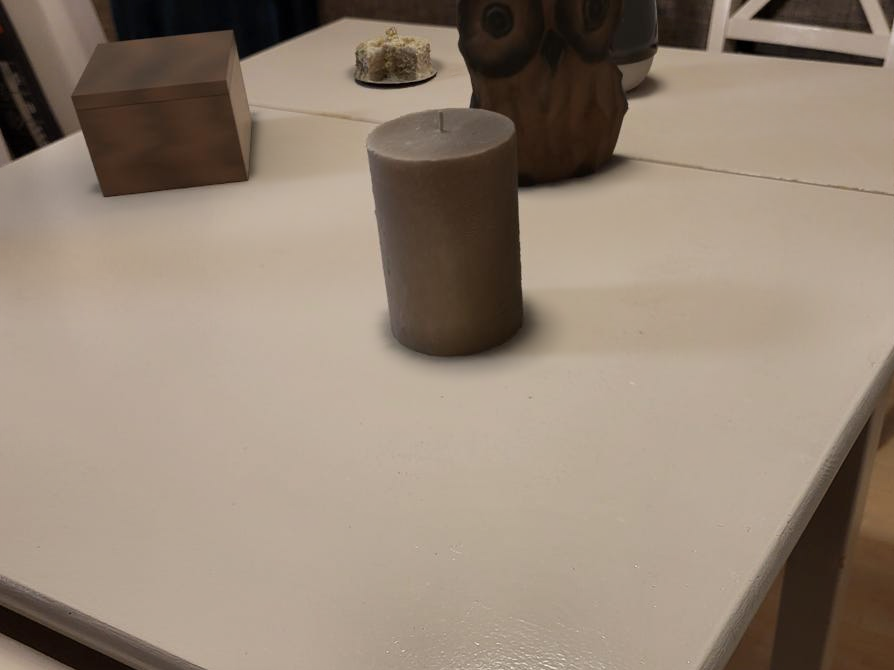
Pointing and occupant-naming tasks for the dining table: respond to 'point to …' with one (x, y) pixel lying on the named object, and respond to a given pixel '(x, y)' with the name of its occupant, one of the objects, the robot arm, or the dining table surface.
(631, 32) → the pump dispenser
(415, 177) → the pillar candle
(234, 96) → the lidded keepsake chest
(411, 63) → the cake
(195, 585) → the dining table surface
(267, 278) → the dining table surface
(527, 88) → the owl
